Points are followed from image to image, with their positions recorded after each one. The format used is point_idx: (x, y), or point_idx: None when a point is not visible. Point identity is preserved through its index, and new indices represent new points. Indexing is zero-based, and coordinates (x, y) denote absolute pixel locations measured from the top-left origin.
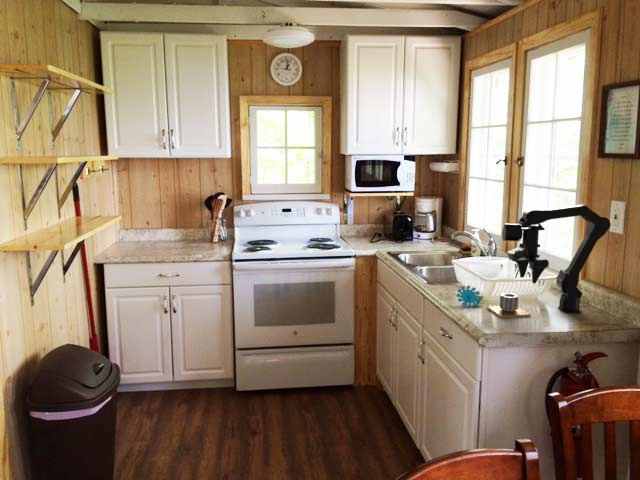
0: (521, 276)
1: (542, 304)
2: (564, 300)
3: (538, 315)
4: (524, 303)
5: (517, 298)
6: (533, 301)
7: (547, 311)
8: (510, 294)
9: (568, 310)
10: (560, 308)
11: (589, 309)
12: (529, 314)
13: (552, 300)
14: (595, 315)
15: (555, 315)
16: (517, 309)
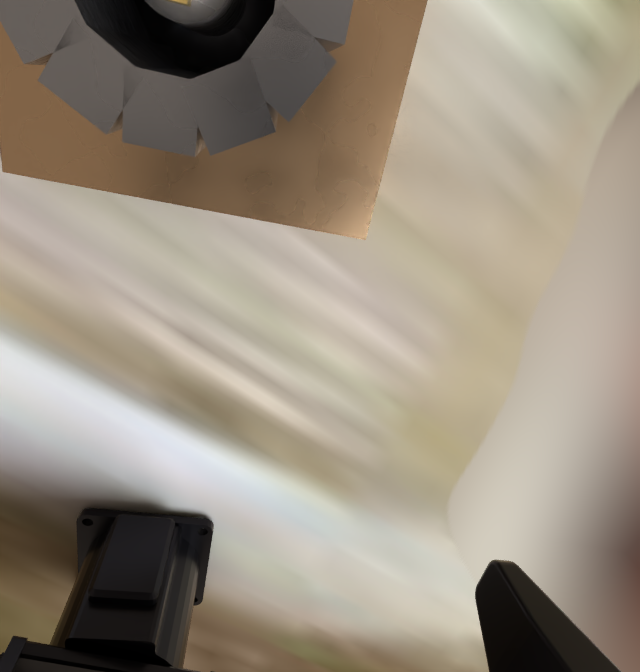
0: (499, 580)
1: (343, 487)
2: (86, 595)
3: (58, 276)
4: (429, 388)
5: (26, 44)
6: (437, 476)
7: (162, 417)
8: (247, 50)
9: (98, 538)
10: (150, 519)
11: None
12: (2, 154)
13: (393, 583)
14: (10, 615)
15: (39, 408)
16: None
